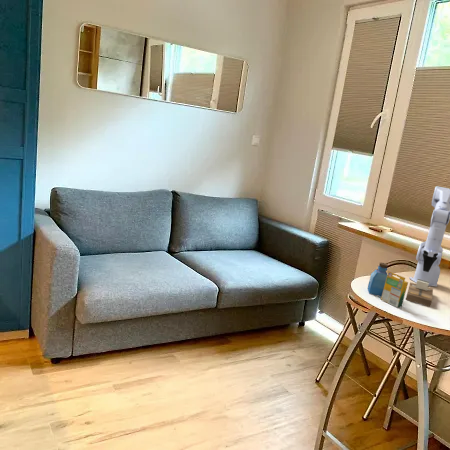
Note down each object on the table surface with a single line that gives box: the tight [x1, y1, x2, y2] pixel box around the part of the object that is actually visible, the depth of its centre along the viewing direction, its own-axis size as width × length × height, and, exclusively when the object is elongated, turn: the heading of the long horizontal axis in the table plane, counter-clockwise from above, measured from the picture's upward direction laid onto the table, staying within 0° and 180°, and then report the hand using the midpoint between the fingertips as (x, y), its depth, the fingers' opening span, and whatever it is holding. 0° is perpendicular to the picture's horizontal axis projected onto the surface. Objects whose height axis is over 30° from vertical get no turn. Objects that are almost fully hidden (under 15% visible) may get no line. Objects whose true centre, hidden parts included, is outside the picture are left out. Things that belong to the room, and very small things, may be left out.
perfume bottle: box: [367, 262, 388, 297], centre depth 178 cm, size 6×6×12 cm
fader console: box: [405, 281, 434, 308], centre depth 183 cm, size 18×9×3 cm, turn 154°
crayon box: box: [380, 270, 409, 309], centre depth 169 cm, size 7×3×12 cm, turn 36°
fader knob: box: [415, 279, 429, 291], centre depth 186 cm, size 3×4×3 cm
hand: (425, 269), depth 190 cm, fingers open, 5 cm apart
